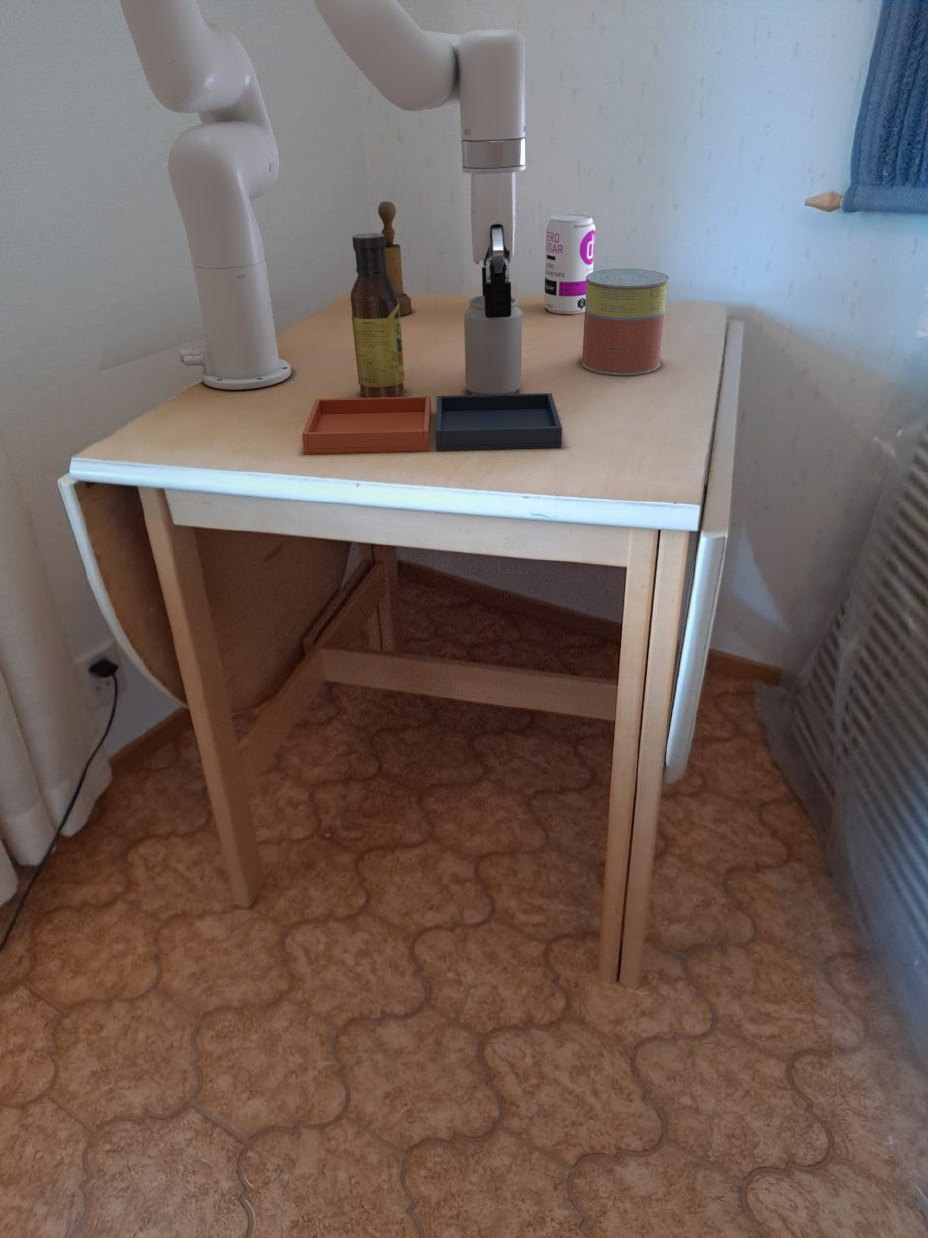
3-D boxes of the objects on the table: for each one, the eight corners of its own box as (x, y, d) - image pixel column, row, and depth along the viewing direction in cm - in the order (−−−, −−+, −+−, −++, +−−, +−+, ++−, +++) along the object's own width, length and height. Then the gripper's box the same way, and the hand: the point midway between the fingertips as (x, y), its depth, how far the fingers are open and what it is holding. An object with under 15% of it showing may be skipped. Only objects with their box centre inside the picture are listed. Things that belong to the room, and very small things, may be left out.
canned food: (675, 362, 126) (685, 275, 119) (628, 380, 119) (636, 289, 113) (613, 348, 132) (619, 265, 126) (565, 364, 126) (569, 277, 119)
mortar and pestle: (371, 309, 156) (363, 200, 146) (406, 306, 158) (400, 197, 148) (379, 318, 151) (371, 205, 141) (415, 314, 152) (410, 202, 143)
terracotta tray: (304, 453, 99) (301, 434, 98) (318, 417, 110) (315, 398, 108) (429, 450, 99) (428, 430, 98) (431, 414, 109) (430, 395, 108)
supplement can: (597, 306, 154) (603, 215, 146) (577, 317, 149) (582, 222, 141) (557, 302, 158) (560, 212, 150) (536, 311, 152) (538, 219, 144)
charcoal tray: (436, 450, 99) (435, 430, 98) (437, 414, 109) (436, 395, 108) (561, 447, 99) (562, 427, 98) (551, 411, 109) (551, 392, 108)
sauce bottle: (411, 397, 115) (402, 236, 104) (366, 404, 113) (352, 241, 102) (396, 383, 120) (386, 229, 109) (353, 390, 118) (338, 233, 107)
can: (516, 401, 113) (517, 306, 106) (460, 399, 114) (458, 305, 108) (524, 383, 119) (526, 292, 112) (471, 381, 120) (469, 291, 114)
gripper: (461, 151, 109) (466, 293, 118) (462, 165, 94) (468, 326, 103) (520, 148, 108) (521, 291, 118) (531, 161, 94) (531, 323, 103)
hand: (496, 307), depth 110 cm, fingers open, 9 cm apart
